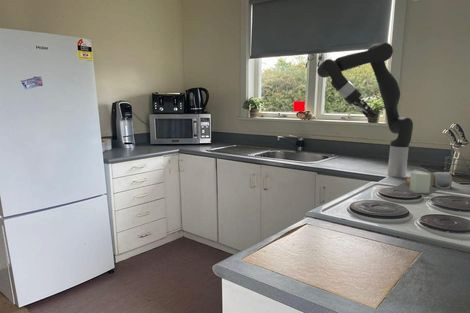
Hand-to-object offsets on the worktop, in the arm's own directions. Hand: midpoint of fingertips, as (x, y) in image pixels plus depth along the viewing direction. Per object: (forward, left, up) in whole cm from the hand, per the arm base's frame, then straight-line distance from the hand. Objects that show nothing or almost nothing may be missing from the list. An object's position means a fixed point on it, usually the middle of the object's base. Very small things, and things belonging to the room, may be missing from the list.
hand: (371, 116), depth 163 cm
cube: (-9, +19, -33) cm, 39 cm away
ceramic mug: (-19, +29, -34) cm, 49 cm away
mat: (-4, +22, -34) cm, 40 cm away
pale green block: (0, +25, -33) cm, 41 cm away
